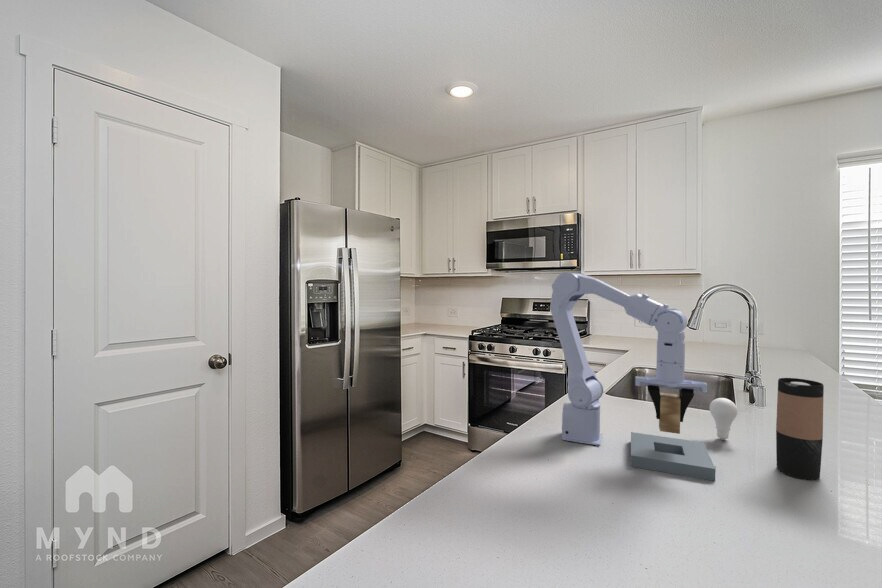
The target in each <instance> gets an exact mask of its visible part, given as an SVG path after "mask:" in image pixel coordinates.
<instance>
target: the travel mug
mask: <svg viewBox="0 0 882 588" xmlns="http://www.w3.org/2000/svg"><path fill="white" fill-rule="evenodd" d="M824 392H825V391H824V384H823V383H821V382H819V381H815V380H810V379H805V378H796V377H794V378H793V377H781V378H778V380H777V400H776V403H777V404H776V421H775V422H776V425H775V427H776V428H775V429H776V430H775V431H776V432H775V433H776V434H775V441H776V443H775V445H776V447H775V449H776V450H775V451H776V469H777V471H778V472H780V473H781V474H783V475H785V476H788V477H790V478H794V479H798V480H802V481H819V479H820V477H821V470H822V469H821V468H822V451H823V450H822V449H823V437H824V436H823V435H824Z"/></svg>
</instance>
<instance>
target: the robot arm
mask: <svg viewBox="0 0 882 588" xmlns="http://www.w3.org/2000/svg"><path fill="white" fill-rule="evenodd" d="M551 290H552V294H551V300H550V305H549V309H550V313H551V316H552V319H553V323H554V327H555V329H556V332H557V336H558V338H559V341H560V342H559V343H560V345H561V348H562V352H563V356H564V359H565V363H566V365H567V368H568V375H567V379H566V381H567V384H568V385H567V386H568V387H567V388H568V389H567V396H568V399H569V401H570V402H564V403H563V406H562V418H561V420H562V421H561V440H562V441H569V442H573V443H574V442H575V443H579V444H580V443H581V444H587V445H592V446H601V444H602V438H603V434H602V433H601V404H600V401H599V400H600V398H602V397H603V394H604V386H603V384H602V382H601V381H600V380H599V379H598V377H597V375H596V372H595V371H594V370H593V369H592V368H591V366H590V364H589V361H588V358H587V355H586V351H585V348H584V345H583V343H582V339H581V337H580V336H581V335H580V332H579V330H578V327H577V323H576V320H575V316H574V313H573V308H574V307H575V306H576V304H577V302H578V300H579V299H581V298H582V297H583V296H584V295H589V294H590V295H591V294H593V295H596V296H598V297H601V298H602V299H605V300H608V301H609V302H612V303H614V304H617V305H619V306H621V307H623V309H624V312H625V314H626V315H628V316H629V317H632V318H634V319H636V320H638V321H640V322H642V323H644V324H646V325H647V326H650V327H654V328H655V330H656V331H657V340H656V366H655V367H656V368H655V369H656V371H655V373H656V375H655V376H636V375H635V383H634V384H635V387H636V386H637V387H647V392H648V394H649V396H650V398H651V401H652V402H653V407H654V410H655V415H656V416H655V417H656V420H659V419H660V393H661V391H660V390H661V388H662V389H671V390H672V389H673V390H678V391H679V394H678V395H679V396H680V399H681V402H680V423H683V422H684V416H685V414H686V412H687V409H688V407H689V405H690V403H691V401H692V400H693V398H694V397H695V393H694V392H700V393H706V394H707V393H708V384H707V382H704V381H703V382H702V381H696V380H689V379H685V365H686V364H685V362H686V361H685V358H686V356H685V355H686V341H685V338H686V336H685V331H684V330H685V329H686V327H687V326H688V318H687V316H686V315H685V313H684V312H682V311H680V310H679V308H669V307H670V305H669V304H667V303H664V304H662V303H660V302H658V301H656V300H653V299H651V298H650V295H649V294H646V293H643V294H640V293H635V294H633V295H629V294H628V293H627V292H624V291H622V290H620V289H618V288H616V287H614V286H613V285H610V284H608V283H607V282H605V281H602V280H600V279H599V278H596V277H594V276H590V275H586V274H584V273H581V272H568V271H567V272H561V273H560V274H559V275H557V276H556V278H555V279H554V281H553V283H552V284H551Z"/></svg>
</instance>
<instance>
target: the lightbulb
mask: <svg viewBox="0 0 882 588" xmlns="http://www.w3.org/2000/svg"><path fill="white" fill-rule="evenodd" d="M738 412H739V411H738V407H737V405H736V404H735V402H733V401H732V400H730V399H728V398H726V397H718V398H715V399H713V400H712V401H710V404H709V413H710V415H711V416H712V418H713V420H714V424H715V428H716V436H717V437H718V438H719V439H720V440H722V441H726V440H727V439H729V435H730V431H731V426H732V424H733V422H734V421H735V420H736V417H737V416H738Z"/></svg>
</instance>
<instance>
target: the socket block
mask: <svg viewBox="0 0 882 588" xmlns="http://www.w3.org/2000/svg"><path fill="white" fill-rule="evenodd" d="M630 467H633V468H637V469H638V468H640V469H644V470H650V471H656V472H661V473H667V474H674V475H679V476H686V477H692V478H696V479H702V480H709V481H714V482H716V472H717V471H716V467H715V464H714V463H713V460H712V458H711V455H710V454H709V451H708V449H707V447H706V445H705V443H704V441H697V440H690V439H683V438H675V437H667V436H662V435H655V434H654V435H653V434H648V433H639V432H633V431H632V432H630Z"/></svg>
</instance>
